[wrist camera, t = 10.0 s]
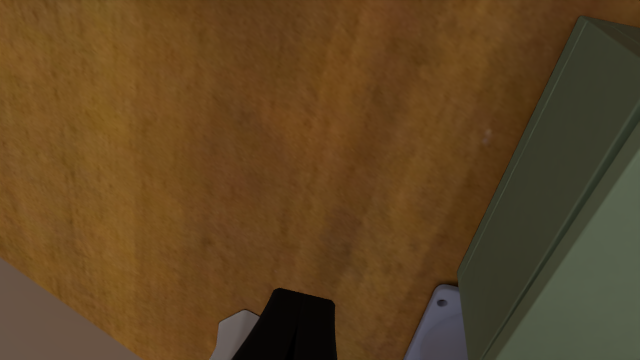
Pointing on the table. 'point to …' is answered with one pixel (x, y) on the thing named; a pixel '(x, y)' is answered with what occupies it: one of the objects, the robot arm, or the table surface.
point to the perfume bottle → (233, 334)
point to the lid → (587, 280)
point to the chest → (551, 173)
